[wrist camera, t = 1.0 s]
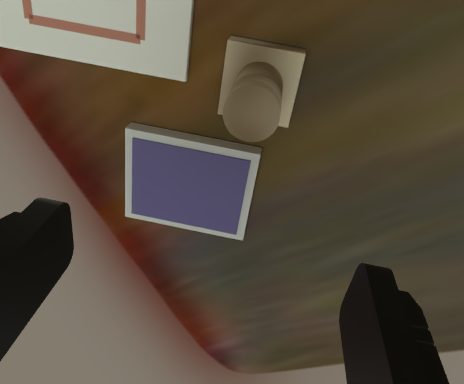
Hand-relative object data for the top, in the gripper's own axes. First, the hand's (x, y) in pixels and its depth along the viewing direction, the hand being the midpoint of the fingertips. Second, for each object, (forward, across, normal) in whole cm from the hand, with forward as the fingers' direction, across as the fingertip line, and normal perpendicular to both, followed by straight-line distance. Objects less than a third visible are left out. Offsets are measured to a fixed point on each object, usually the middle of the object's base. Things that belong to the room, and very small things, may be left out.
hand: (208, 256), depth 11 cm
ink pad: (+18, +4, +9) cm, 21 cm away
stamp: (+18, 0, 0) cm, 18 cm away
